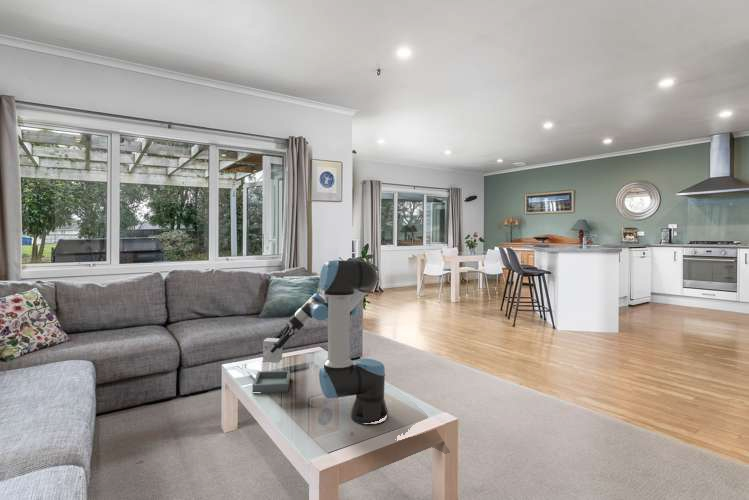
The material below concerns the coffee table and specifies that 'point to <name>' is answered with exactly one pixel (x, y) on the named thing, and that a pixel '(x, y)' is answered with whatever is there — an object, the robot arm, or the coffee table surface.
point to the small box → (276, 356)
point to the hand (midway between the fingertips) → (265, 353)
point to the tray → (271, 382)
